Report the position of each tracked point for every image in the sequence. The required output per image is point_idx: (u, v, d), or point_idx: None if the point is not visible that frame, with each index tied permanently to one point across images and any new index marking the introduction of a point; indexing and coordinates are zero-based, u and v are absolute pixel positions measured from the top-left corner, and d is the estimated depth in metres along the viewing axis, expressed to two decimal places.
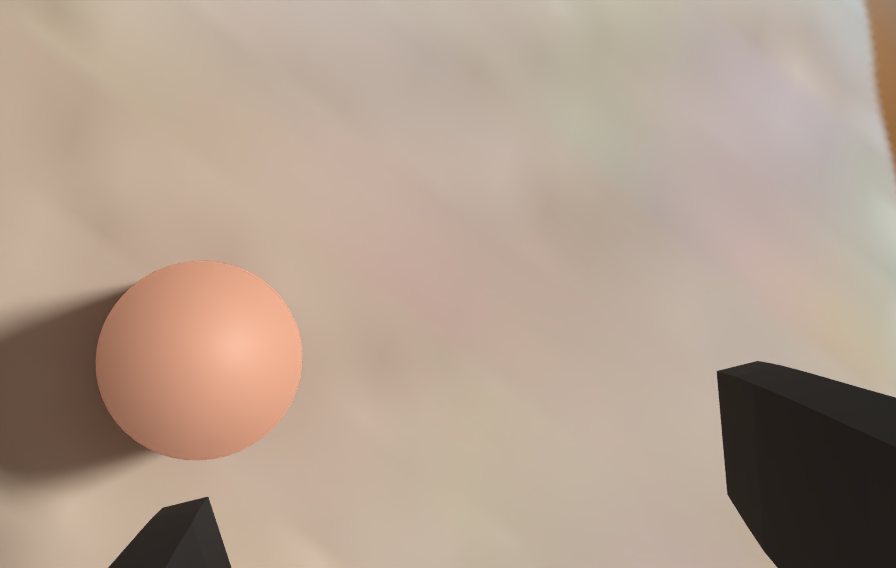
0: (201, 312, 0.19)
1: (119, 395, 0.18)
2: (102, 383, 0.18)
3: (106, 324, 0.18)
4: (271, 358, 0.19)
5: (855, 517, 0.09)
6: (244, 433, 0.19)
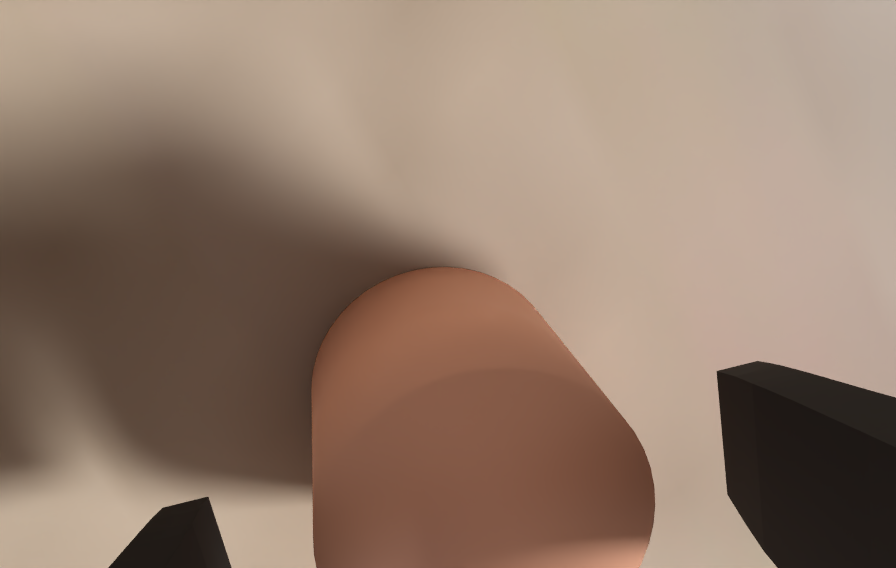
0: (523, 457, 0.10)
1: (339, 537, 0.10)
2: (323, 510, 0.10)
3: (370, 423, 0.10)
4: (589, 562, 0.11)
5: (856, 517, 0.09)
6: None
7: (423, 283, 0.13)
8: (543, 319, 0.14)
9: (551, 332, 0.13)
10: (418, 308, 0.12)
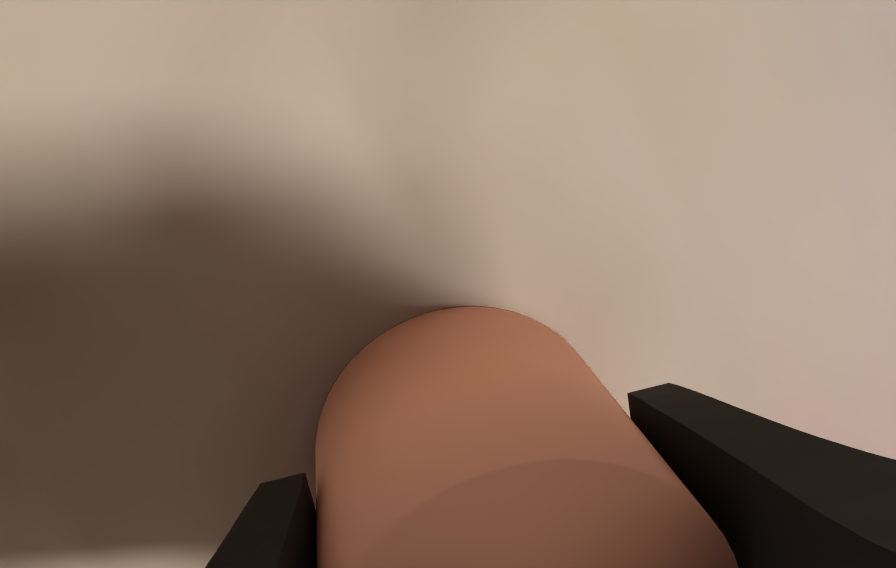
0: None
1: None
2: None
3: (391, 529, 0.08)
4: None
5: (744, 548, 0.09)
6: None
7: (450, 328, 0.11)
8: (591, 370, 0.12)
9: (605, 392, 0.11)
10: (446, 365, 0.10)
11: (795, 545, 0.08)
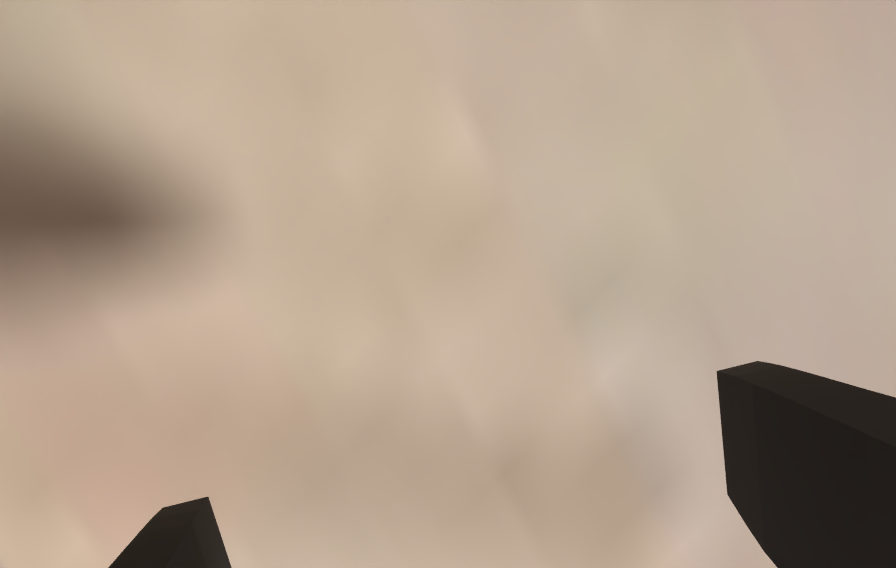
0: None
1: None
2: None
3: None
4: None
5: (856, 517, 0.09)
6: None
7: None
8: None
9: None
10: None
11: None
